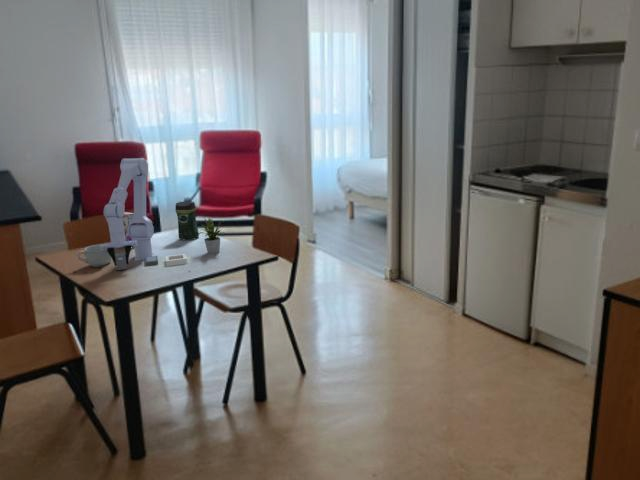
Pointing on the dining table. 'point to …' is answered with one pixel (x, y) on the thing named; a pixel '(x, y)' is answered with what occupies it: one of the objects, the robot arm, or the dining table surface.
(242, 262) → the dining table surface
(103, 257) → the teacup
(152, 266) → the outlet plate
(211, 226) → the house plant
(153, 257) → the phone slab
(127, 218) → the candy bar box
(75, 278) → the dining table surface
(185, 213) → the coffee jar
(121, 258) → the plug
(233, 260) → the dining table surface
